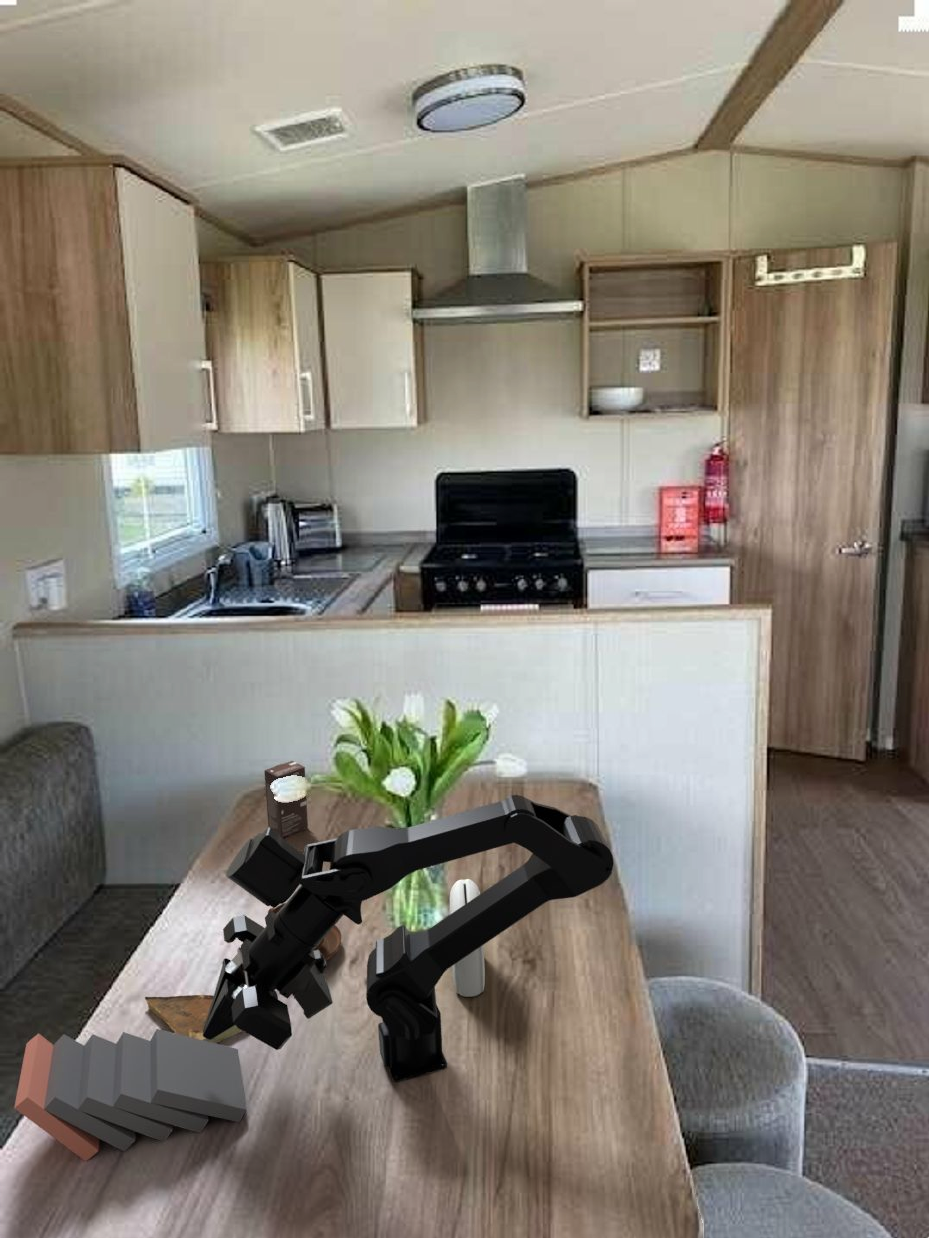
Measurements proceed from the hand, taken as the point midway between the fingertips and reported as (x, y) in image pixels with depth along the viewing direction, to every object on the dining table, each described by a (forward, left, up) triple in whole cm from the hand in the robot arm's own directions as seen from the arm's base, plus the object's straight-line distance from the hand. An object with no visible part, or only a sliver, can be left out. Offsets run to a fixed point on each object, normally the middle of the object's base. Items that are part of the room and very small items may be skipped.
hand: (206, 1036), depth 103 cm
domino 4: (+1, 0, -7) cm, 7 cm away
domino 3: (+5, 0, -7) cm, 8 cm away
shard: (+2, -12, -8) cm, 15 cm away
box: (-17, -62, -8) cm, 64 cm away
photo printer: (-34, -11, -8) cm, 36 cm away
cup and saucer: (-13, -24, -8) cm, 28 cm away
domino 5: (-3, 0, -7) cm, 7 cm away
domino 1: (+12, 0, -7) cm, 14 cm away
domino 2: (+9, 0, -7) cm, 11 cm away
